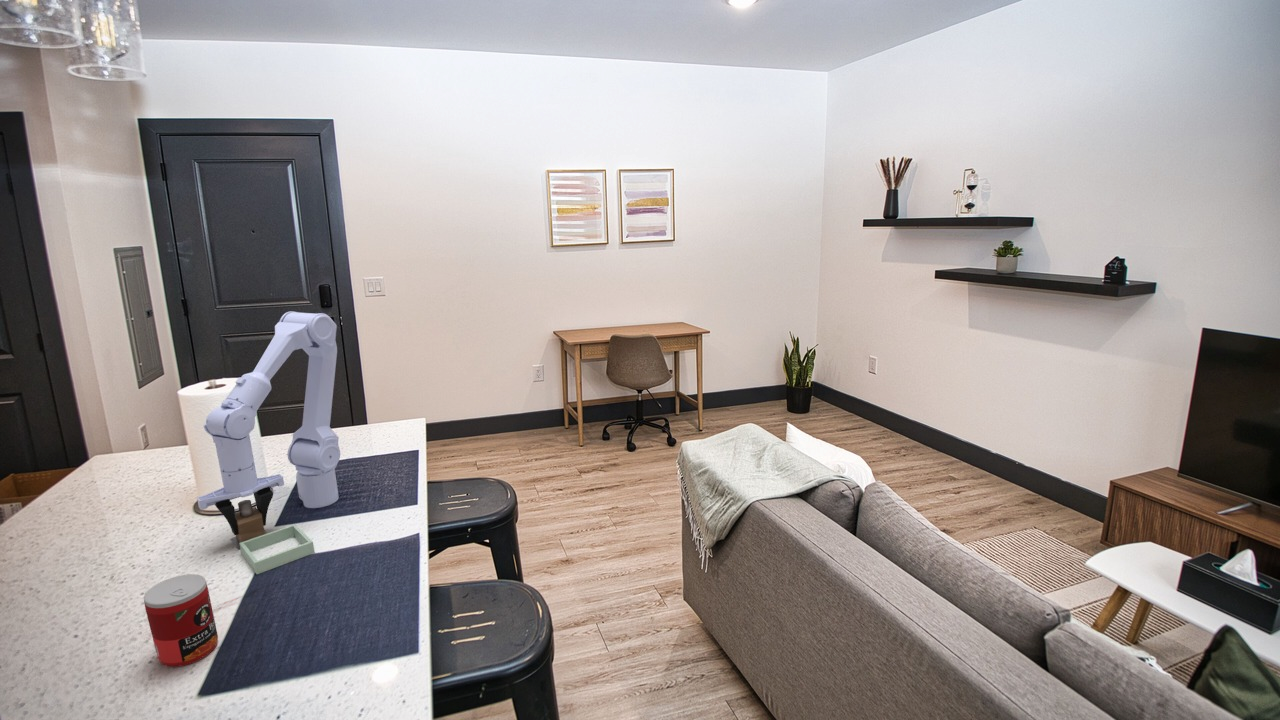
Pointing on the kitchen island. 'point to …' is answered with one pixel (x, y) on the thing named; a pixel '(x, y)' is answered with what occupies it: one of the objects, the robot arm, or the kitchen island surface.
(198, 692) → the kitchen island surface
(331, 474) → the robot arm
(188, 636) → the canned food
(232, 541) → the stud plate
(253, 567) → the bin
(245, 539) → the brown square bottle
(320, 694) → the kitchen island surface
